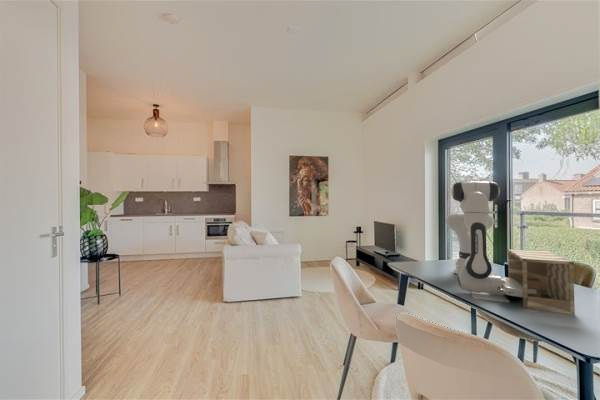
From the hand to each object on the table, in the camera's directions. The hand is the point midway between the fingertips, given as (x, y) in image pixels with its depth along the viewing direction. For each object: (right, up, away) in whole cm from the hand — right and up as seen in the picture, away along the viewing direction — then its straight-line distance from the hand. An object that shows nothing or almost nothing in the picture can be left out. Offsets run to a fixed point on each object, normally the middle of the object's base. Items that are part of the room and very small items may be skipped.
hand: (532, 288), depth 127 cm
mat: (-15, -6, +7) cm, 18 cm away
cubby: (+2, -5, -1) cm, 6 cm away
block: (0, -6, 0) cm, 6 cm away
